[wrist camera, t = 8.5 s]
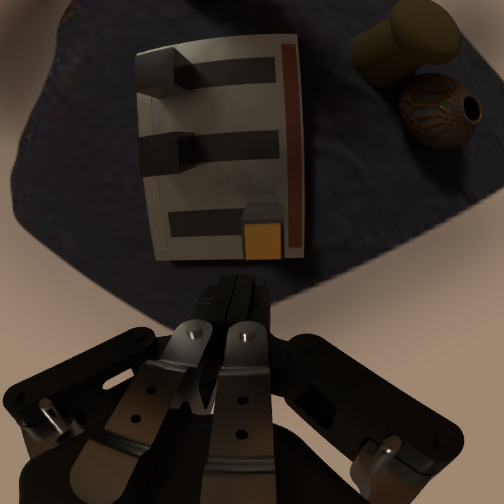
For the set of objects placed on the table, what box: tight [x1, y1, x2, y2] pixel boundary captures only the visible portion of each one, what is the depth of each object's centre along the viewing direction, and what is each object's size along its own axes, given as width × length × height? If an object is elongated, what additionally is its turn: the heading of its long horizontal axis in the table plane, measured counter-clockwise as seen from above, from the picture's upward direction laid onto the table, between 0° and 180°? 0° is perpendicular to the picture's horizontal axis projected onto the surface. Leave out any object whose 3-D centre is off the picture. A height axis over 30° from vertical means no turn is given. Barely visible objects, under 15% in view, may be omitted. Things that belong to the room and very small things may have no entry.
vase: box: [398, 73, 483, 149], centre depth 17 cm, size 7×7×9 cm
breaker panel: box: [135, 34, 305, 260], centre depth 21 cm, size 14×20×6 cm
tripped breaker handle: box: [240, 204, 285, 260], centre depth 21 cm, size 3×3×5 cm
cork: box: [349, 0, 461, 87], centre depth 14 cm, size 6×6×11 cm
